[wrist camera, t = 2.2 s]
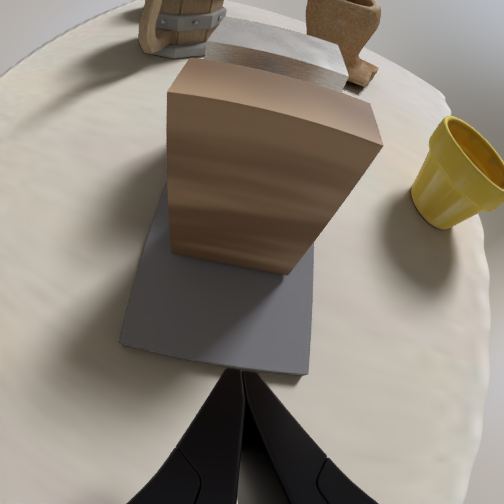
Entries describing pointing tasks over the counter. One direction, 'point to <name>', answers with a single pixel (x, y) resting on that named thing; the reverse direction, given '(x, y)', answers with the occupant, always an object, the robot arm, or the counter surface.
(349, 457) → the counter surface
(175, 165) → the wood block
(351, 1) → the stone cup
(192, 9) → the tankard
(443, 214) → the plant pot
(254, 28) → the bearing block
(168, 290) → the mat
